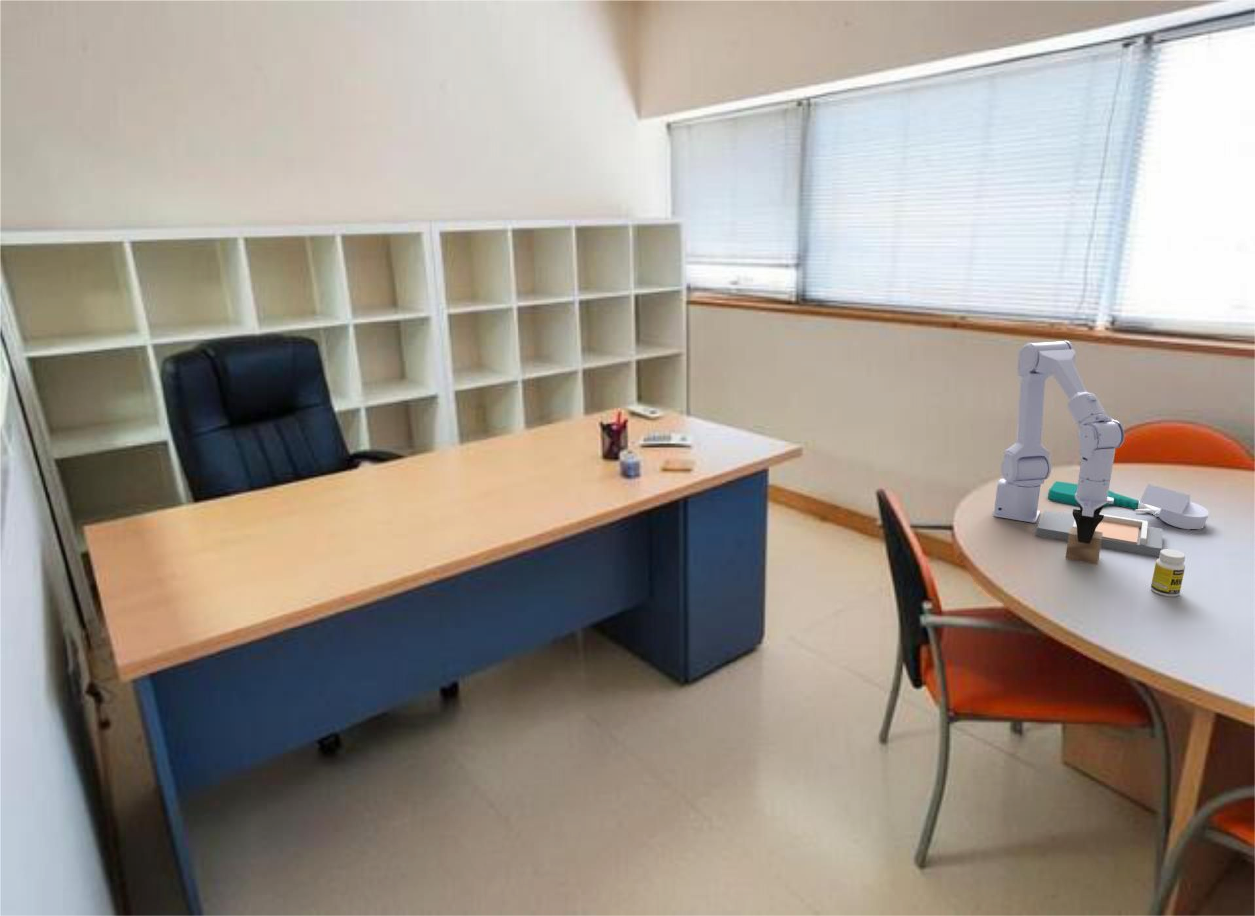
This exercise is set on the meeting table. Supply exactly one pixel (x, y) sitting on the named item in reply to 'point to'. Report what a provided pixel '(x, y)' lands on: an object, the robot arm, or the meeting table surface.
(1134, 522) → the frame
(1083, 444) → the robot arm
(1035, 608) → the meeting table surface
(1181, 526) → the wedge on round base
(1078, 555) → the brown rectangular block
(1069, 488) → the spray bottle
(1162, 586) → the supplement bottle
